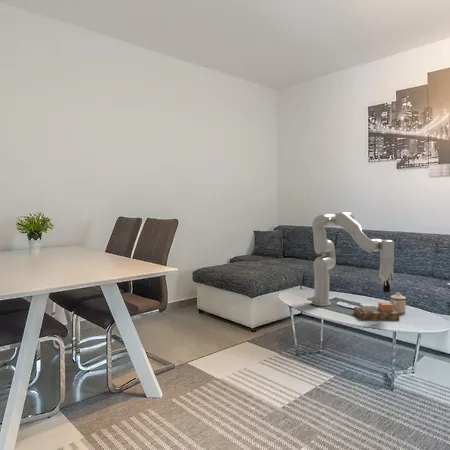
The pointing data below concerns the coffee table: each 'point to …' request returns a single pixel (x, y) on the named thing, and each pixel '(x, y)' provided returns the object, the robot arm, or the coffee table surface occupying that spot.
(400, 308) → the teacup with lid
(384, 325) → the coffee table surface
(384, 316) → the brown slotted base
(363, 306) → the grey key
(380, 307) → the salmon orange block
